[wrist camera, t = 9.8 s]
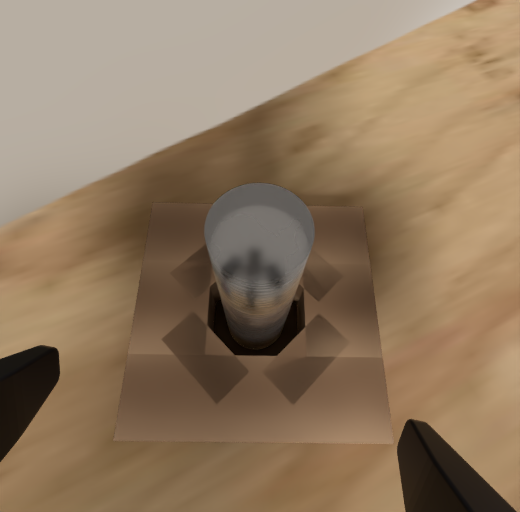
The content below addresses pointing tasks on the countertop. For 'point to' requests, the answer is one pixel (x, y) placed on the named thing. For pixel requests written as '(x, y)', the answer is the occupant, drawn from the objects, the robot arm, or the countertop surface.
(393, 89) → the countertop surface
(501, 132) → the countertop surface
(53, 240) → the countertop surface
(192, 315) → the bore block
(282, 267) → the round bit
